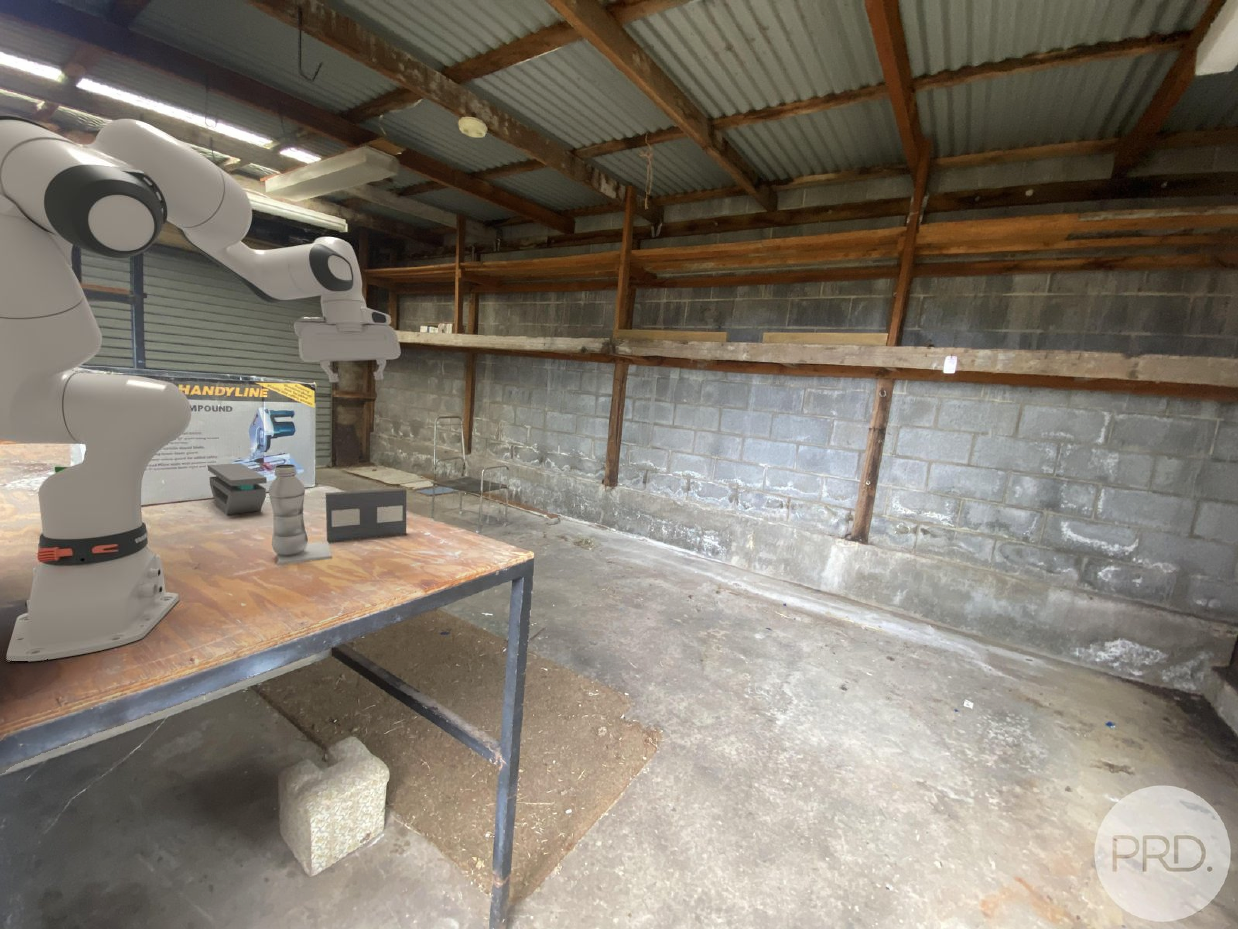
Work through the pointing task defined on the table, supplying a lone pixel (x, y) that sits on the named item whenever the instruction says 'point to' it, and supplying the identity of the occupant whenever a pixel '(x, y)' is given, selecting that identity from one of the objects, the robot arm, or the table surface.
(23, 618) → the robot arm
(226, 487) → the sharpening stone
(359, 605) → the table surface
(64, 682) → the table surface
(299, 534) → the plastic bottle
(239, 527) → the table surface
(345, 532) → the panel
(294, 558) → the rubber pad
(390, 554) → the table surface
